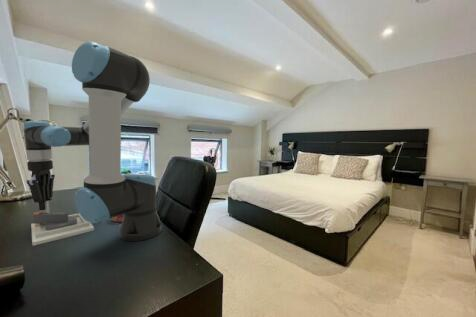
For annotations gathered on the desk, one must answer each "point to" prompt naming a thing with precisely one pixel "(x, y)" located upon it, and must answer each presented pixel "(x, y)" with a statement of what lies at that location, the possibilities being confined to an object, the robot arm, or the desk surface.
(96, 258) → the desk surface
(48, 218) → the dial
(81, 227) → the panel
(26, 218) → the desk surface
